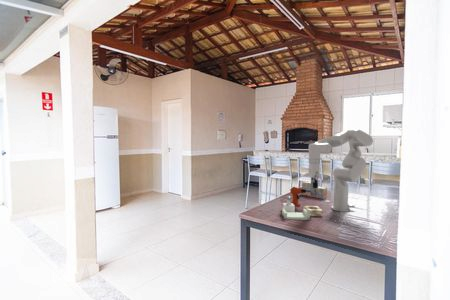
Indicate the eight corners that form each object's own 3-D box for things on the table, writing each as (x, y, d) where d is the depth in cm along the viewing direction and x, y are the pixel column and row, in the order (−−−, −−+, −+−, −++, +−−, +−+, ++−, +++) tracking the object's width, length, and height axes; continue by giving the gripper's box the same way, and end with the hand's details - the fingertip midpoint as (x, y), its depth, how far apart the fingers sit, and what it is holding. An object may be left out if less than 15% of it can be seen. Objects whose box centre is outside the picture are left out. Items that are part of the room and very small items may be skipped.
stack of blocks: (326, 198, 203) (327, 184, 203) (323, 199, 199) (323, 185, 199) (305, 193, 220) (305, 180, 219) (301, 194, 216) (301, 181, 215)
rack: (305, 214, 158) (305, 209, 157) (309, 219, 148) (309, 213, 148) (281, 214, 159) (282, 208, 159) (284, 219, 149) (284, 213, 149)
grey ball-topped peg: (291, 209, 167) (291, 195, 167) (292, 211, 163) (292, 197, 162) (284, 209, 168) (285, 195, 167) (286, 210, 163) (286, 197, 163)
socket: (317, 211, 165) (317, 206, 165) (322, 216, 155) (322, 210, 155) (303, 211, 166) (303, 205, 165) (307, 215, 156) (307, 210, 155)
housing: (292, 209, 169) (292, 203, 168) (294, 212, 162) (294, 205, 161) (282, 209, 169) (282, 202, 169) (284, 212, 162) (284, 205, 162)
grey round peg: (315, 194, 162) (316, 179, 161) (317, 196, 158) (318, 180, 157) (309, 194, 162) (310, 179, 161) (311, 195, 158) (312, 180, 157)
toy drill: (312, 208, 168) (310, 187, 169) (289, 205, 182) (288, 187, 183) (315, 206, 171) (313, 186, 172) (293, 204, 185) (291, 186, 186)
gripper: (305, 160, 167) (305, 184, 168) (312, 162, 150) (312, 190, 151) (315, 159, 167) (315, 184, 168) (324, 162, 150) (324, 190, 151)
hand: (314, 186), depth 160 cm, fingers closed on grey round peg, 4 cm apart
